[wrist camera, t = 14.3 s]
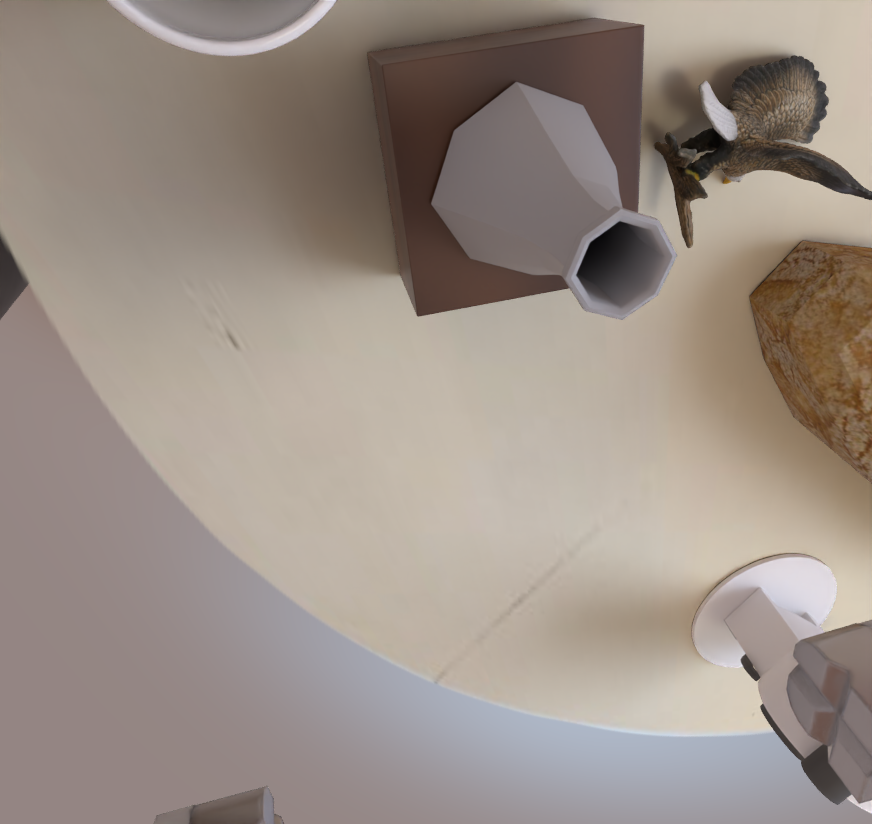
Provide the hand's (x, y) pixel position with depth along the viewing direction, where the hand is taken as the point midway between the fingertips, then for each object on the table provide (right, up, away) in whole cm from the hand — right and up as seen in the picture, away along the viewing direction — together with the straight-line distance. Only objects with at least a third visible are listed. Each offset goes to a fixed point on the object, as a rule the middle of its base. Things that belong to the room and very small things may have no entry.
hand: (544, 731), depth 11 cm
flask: (+2, +14, +19) cm, 23 cm away
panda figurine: (+23, -10, +44) cm, 50 cm away
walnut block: (+1, +17, +23) cm, 28 cm away
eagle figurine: (+13, +18, +25) cm, 33 cm away
